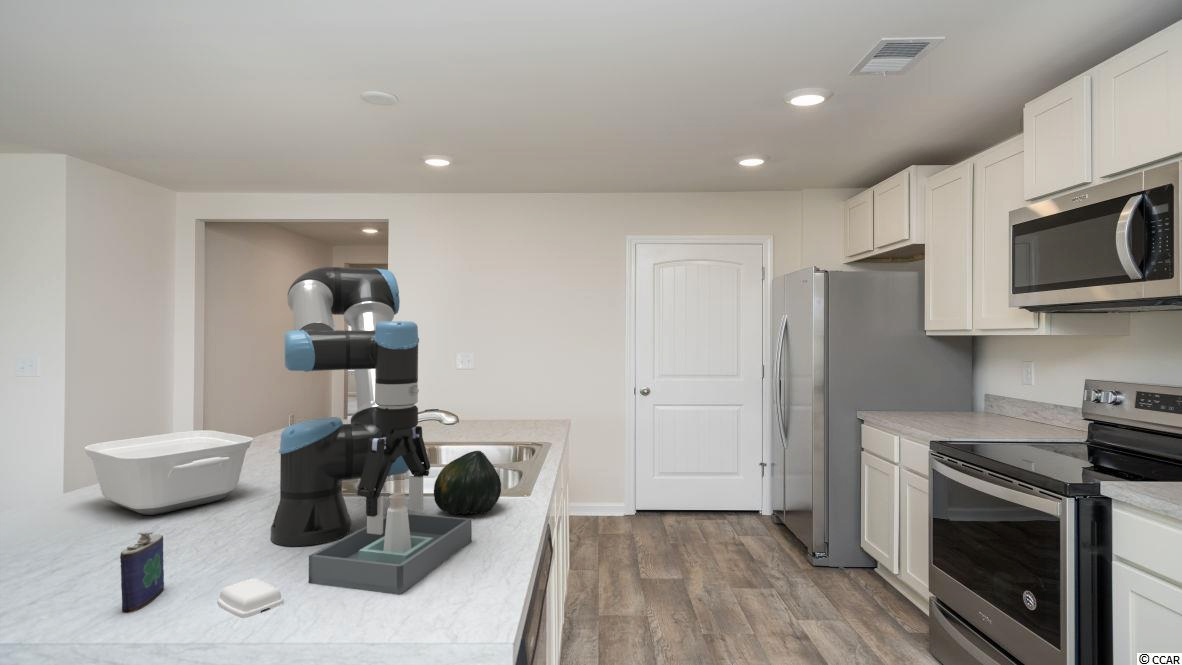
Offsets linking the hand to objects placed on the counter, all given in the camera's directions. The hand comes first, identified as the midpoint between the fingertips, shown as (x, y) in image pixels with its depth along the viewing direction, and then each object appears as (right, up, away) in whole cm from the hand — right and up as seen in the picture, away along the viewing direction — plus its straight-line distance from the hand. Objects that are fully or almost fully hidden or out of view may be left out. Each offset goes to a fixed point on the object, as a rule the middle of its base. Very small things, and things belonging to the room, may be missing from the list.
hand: (396, 521), depth 115 cm
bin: (0, -7, 0) cm, 7 cm away
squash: (+7, -7, +30) cm, 31 cm away
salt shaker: (0, -6, 0) cm, 6 cm away
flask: (-34, -8, -17) cm, 39 cm away
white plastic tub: (-65, -7, +36) cm, 75 cm away
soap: (-17, -8, -18) cm, 26 cm away
